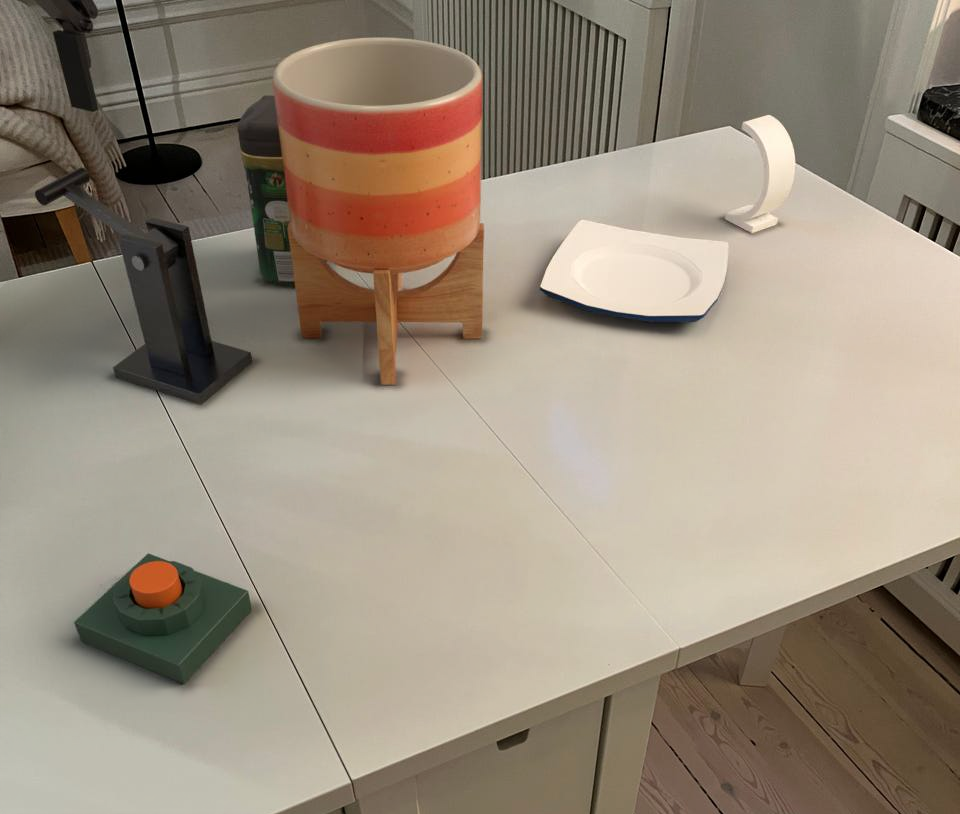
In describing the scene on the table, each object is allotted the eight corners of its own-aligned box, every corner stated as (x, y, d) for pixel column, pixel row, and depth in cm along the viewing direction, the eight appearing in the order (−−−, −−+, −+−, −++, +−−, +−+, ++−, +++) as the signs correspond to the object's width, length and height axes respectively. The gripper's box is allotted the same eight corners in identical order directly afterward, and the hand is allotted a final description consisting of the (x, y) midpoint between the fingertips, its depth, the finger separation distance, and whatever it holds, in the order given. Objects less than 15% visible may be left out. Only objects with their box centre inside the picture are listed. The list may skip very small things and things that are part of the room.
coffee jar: (270, 249, 126) (246, 87, 112) (333, 251, 126) (317, 89, 112) (253, 287, 119) (226, 120, 106) (320, 290, 119) (301, 122, 105)
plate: (528, 312, 116) (529, 290, 114) (573, 235, 129) (575, 215, 127) (705, 343, 112) (710, 321, 110) (733, 261, 125) (738, 240, 123)
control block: (80, 641, 80) (66, 605, 77) (154, 572, 86) (143, 536, 83) (184, 684, 77) (173, 649, 74) (252, 610, 83) (245, 573, 80)
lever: (34, 204, 97) (34, 182, 95) (77, 181, 100) (78, 159, 98) (148, 282, 97) (151, 261, 95) (187, 255, 100) (190, 235, 98)
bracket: (115, 377, 106) (75, 239, 95) (169, 337, 111) (138, 202, 101) (201, 404, 103) (170, 264, 92) (253, 361, 108) (229, 225, 97)
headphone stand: (749, 210, 135) (769, 114, 126) (782, 227, 132) (805, 130, 123) (724, 218, 133) (742, 122, 125) (757, 236, 130) (778, 138, 121)
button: (124, 600, 78) (118, 583, 77) (154, 571, 80) (149, 555, 79) (162, 615, 77) (157, 598, 76) (191, 586, 79) (187, 569, 78)
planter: (291, 385, 105) (253, 108, 86) (310, 290, 119) (281, 33, 99) (483, 385, 106) (488, 110, 86) (480, 291, 119) (484, 35, 100)
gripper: (-143, -120, 70) (-36, 190, 86) (100, -174, 86) (153, 97, 101) (-219, -133, 72) (-102, 171, 88) (32, -183, 88) (94, 83, 103)
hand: (35, 132), depth 94 cm, fingers open, 13 cm apart
